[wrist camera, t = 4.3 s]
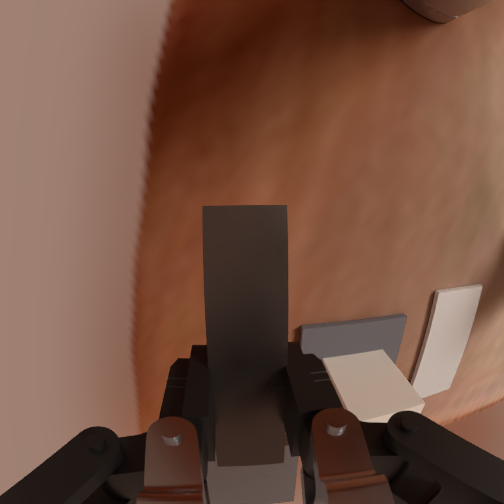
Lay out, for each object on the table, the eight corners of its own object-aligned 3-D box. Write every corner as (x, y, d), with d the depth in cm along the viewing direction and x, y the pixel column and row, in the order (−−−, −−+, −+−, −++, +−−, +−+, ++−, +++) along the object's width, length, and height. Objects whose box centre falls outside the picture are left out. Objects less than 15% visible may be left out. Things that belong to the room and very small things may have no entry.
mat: (301, 325, 24) (302, 328, 23) (403, 313, 24) (406, 316, 24) (291, 422, 27) (293, 426, 26) (378, 406, 28) (380, 410, 27)
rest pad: (435, 290, 24) (439, 292, 24) (479, 283, 25) (482, 285, 24) (403, 399, 28) (406, 403, 27) (446, 386, 28) (449, 388, 28)
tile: (322, 358, 24) (354, 422, 16) (382, 349, 25) (425, 402, 17) (320, 373, 25) (348, 437, 17) (378, 364, 25) (418, 418, 17)
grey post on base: (188, 216, 11) (174, 207, 8) (292, 215, 12) (313, 205, 9) (208, 481, 12) (206, 521, 9) (287, 477, 12) (298, 516, 9)
